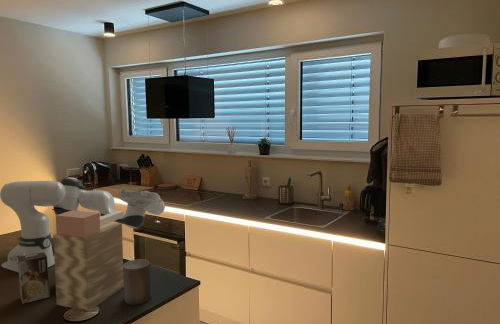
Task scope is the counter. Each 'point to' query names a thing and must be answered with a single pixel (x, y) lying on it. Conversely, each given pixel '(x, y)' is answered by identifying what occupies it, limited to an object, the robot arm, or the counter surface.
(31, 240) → the robot arm
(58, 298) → the oak pedestal
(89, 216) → the handled block
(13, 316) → the counter surface
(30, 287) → the coffee box
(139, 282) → the pillar candle
